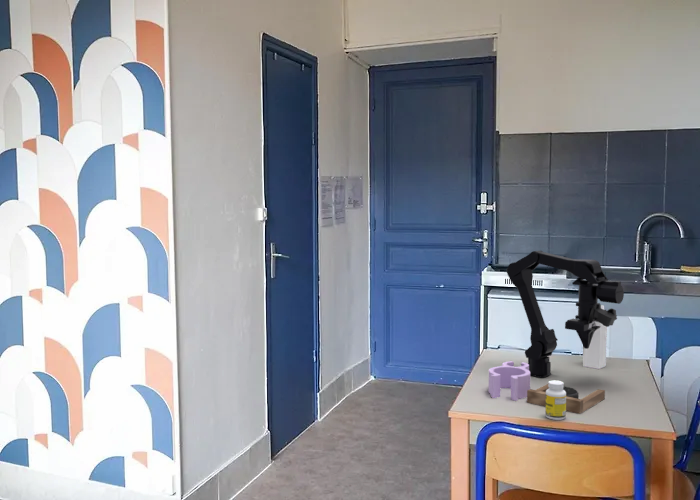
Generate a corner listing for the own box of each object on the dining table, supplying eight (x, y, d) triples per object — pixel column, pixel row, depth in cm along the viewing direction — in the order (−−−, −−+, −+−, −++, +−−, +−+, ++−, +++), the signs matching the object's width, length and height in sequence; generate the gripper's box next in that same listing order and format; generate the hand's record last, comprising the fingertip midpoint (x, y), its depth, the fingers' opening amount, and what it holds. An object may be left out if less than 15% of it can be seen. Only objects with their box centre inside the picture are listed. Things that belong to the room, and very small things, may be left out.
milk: (599, 369, 234) (600, 306, 232) (582, 366, 238) (583, 304, 236) (606, 365, 238) (607, 304, 236) (589, 363, 242) (590, 302, 240)
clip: (498, 380, 222) (498, 359, 221) (537, 384, 216) (537, 363, 216) (483, 397, 204) (483, 375, 203) (524, 402, 198) (525, 379, 198)
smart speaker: (579, 408, 192) (579, 395, 192) (547, 406, 194) (547, 393, 194) (577, 399, 201) (577, 386, 200) (546, 397, 203) (546, 384, 202)
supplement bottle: (542, 414, 187) (542, 379, 186) (561, 413, 188) (561, 379, 187) (549, 420, 182) (550, 385, 181) (569, 420, 182) (569, 384, 181)
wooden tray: (527, 402, 198) (527, 390, 198) (553, 388, 211) (554, 377, 211) (580, 413, 187) (580, 401, 187) (604, 398, 201) (605, 387, 200)
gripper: (599, 306, 201) (598, 358, 202) (625, 299, 214) (623, 347, 215) (564, 302, 209) (563, 351, 210) (591, 295, 222) (590, 342, 223)
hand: (586, 348), depth 214 cm, fingers closed
